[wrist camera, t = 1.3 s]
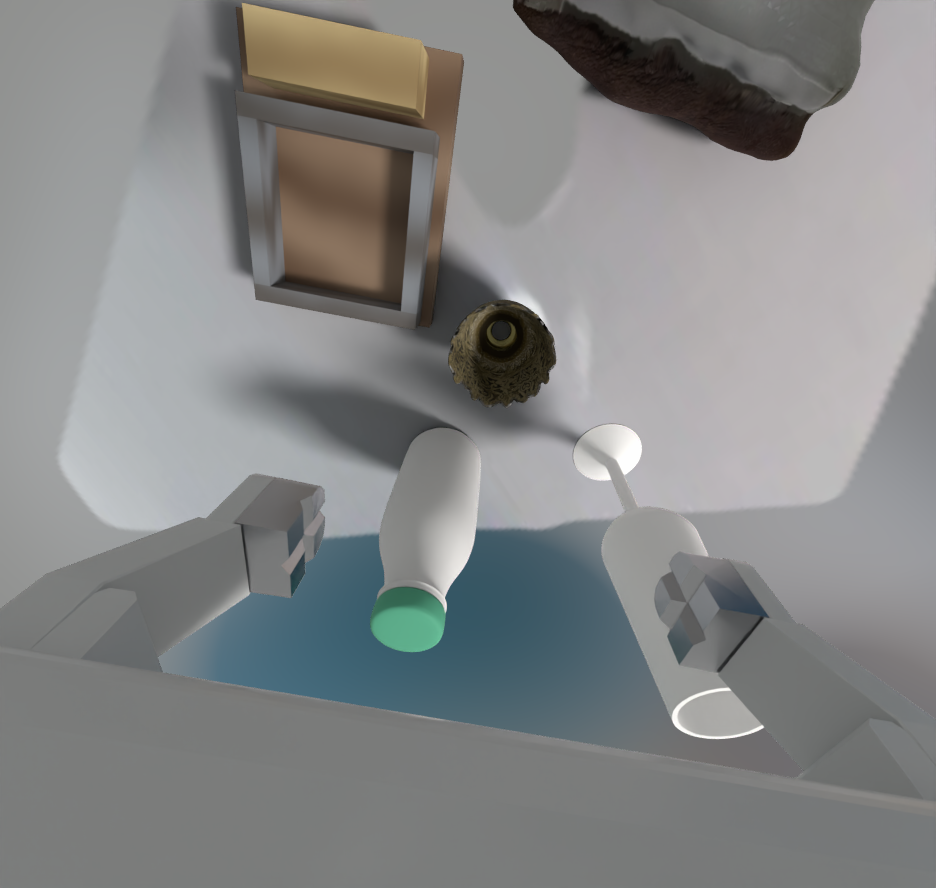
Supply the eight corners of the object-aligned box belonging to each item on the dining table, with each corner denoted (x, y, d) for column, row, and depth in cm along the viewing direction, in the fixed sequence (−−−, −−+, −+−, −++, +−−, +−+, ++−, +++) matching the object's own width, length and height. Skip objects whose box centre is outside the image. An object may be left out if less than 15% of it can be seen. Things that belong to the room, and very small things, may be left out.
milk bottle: (398, 432, 40) (322, 597, 23) (471, 418, 39) (450, 583, 22) (420, 492, 44) (369, 673, 27) (488, 481, 42) (480, 665, 25)
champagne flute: (656, 438, 39) (837, 700, 18) (617, 489, 42) (733, 759, 21) (595, 413, 38) (711, 658, 17) (560, 467, 41) (623, 727, 20)
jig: (249, 17, 25) (204, -18, 22) (464, 62, 26) (457, 35, 22) (271, 292, 34) (242, 302, 30) (431, 323, 34) (423, 337, 30)
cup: (441, 323, 34) (426, 350, 27) (510, 264, 32) (512, 279, 25) (493, 386, 37) (491, 426, 30) (561, 337, 34) (576, 369, 27)
